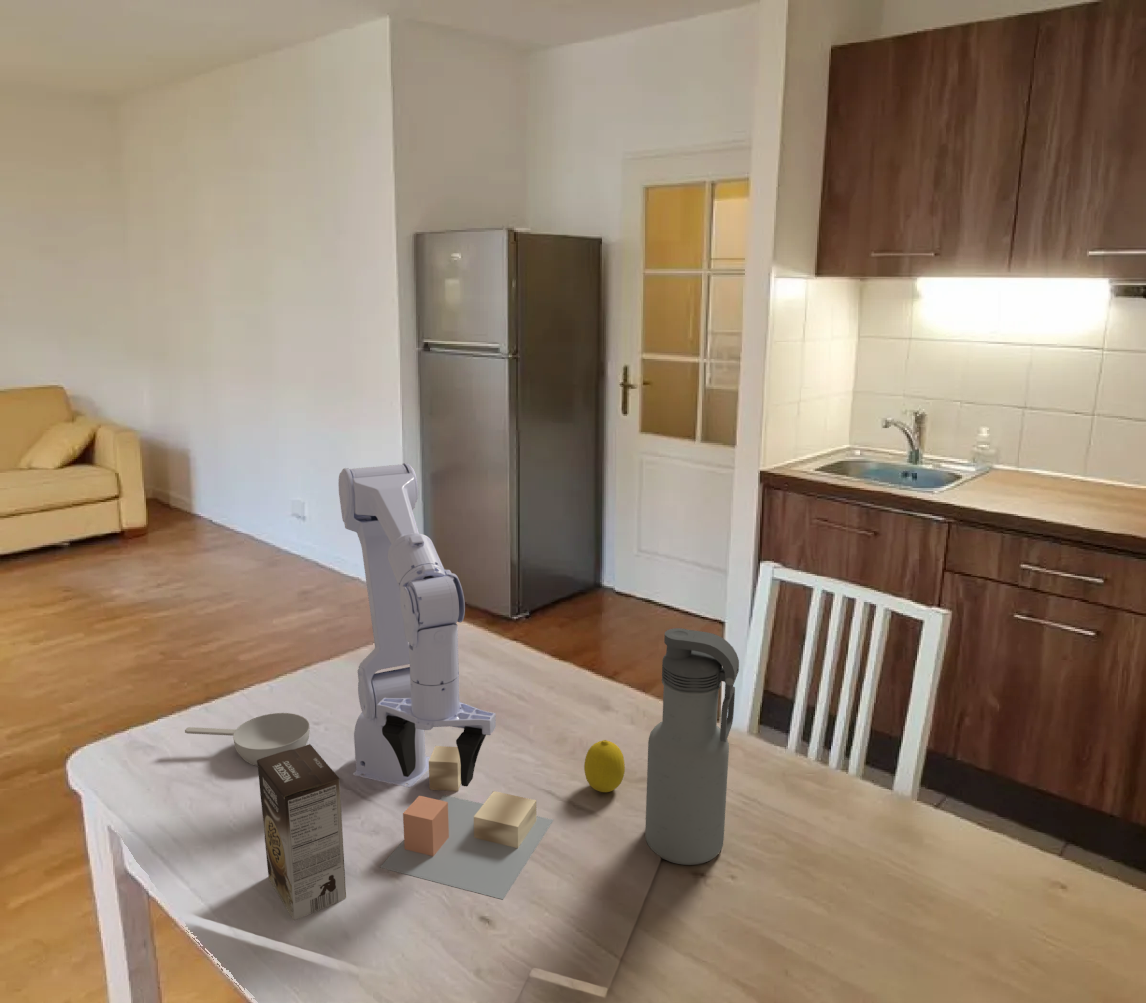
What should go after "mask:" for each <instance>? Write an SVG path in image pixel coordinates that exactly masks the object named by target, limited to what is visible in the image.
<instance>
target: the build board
mask: <svg viewBox="0 0 1146 1003" xmlns="http://www.w3.org/2000/svg"><path fill="white" fill-rule="evenodd" d="M438 800H441V801H445V802H448V823H449V838H448V839H447V840H446V842H445V843H444V844H443V845H442V847H441V848H440V849H439V850H438V851H437V853H436V854H435V855H434V856H430V855H426V854H422V853H418V852H414V851H410V850H406V849H405V847H404V839H403V840H402V841H401V843H400V844H399V845H398V846H397V847H396V848H395V849H394V851H393V852H392V853H391V854H390V855H389V856H388V857H387V859H386V860H385V861H384V862H383V863H382V865H381V866H380V867H379V868H381V869H384V870H388V871H392V872H396V873H399V874H403V875H407V876H410V877H414V878H419V879H422V880H426V881H430V882H434V883H437V884H441V885H445V886H450V887H451V888H457V889H460V890H464V891H468V892H472V893H475V894H480V895H484V896H486V897H491V898H495V899H499V900H504V899H505V897H506V895H507V894H508V893H509V891H510V890H511V888H512V886H513V885H514V884H515V881H516V880H517V878H518V877H519V875H520V874H521V872H522V870H524V867H525V866H526V865H527V862H528V861H529V860H530V858H531V856H532V855H533V854H534V852H535V850H536V848H537V847H538V846H539V844H540V842H541V841H542V839H543V838H544V836H545V834H546V833H547V831H548V829H549V828H550V826H551V825H552V824H553V822H554V819H553V818H548V817H543V816H539V815H536V822H535V824H534V825H533V827H532V828H531V830H530V831H529V833H528V834H527V836H526V837H525V839H524V840H523V842H522V843H521V845H520V846H519V848H515V847H511V846H507V845H502V844H498V843H494V842H490V841H486V840H481V839H477V838H474V816H475V814H476V813H477V812H478V811H479V809H480V808H481V807H482V805H483V804H484V803H483V802H482V803H481V802H477V801H472V800H468V799H463V798H459V797H456V796H450V795H446V794H445V795H444V794H443V795H441V797H440V798H439V799H438Z"/></svg>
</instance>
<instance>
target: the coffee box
mask: <svg viewBox="0 0 1146 1003" xmlns="http://www.w3.org/2000/svg"><path fill="white" fill-rule="evenodd" d="M257 764H258V766H257V773H258V774H257V775H258V782H259V783H258V784H259V792H260V793H259V794H260V803H261V813H262V824H263V833H264V844H265V852H266V853H265V855H266V866H267V875H268V880H269V881H270V883H271V885H272V887H273V889H274V890H275V892H276V894H277V895H278V897H279V899H280V901H281V902H282V904H283V905H284V907H285V909H286V910H287V913H289V915H290V917H291V919H292V920H293V921H296V920H300V919H301V918H303V917H307V916H309V915H311V914H313V913H314V914H315V913H316V912H318V911H321V910H323V909H325V908H327V907H330V906H332V905H335V904H337V903H340V902H341V901H344V900H345V899H347V890H346V887H347V886H346V873H345V856H344V855H345V853H344V837H343V833H344V832H343V817H342V815H343V814H342V804H341V803H342V799H341V784H340V783H341V782H340V777H339V776H338V775H337V773H335V771H334V770H333V769H332V768H331V767H330V765H329V764H328V763H327V762H326V761H325V759H324V758H323V757H321V755H320V754H319V752H318V751H316V749H315V748H314V746H312V745H311V744H310V743H309V744H306V745H305V746H303V747H300V748H297V749H291V750H287V751H283V752H279V753H276V754H273V755H270V756H267V757H264V758H261V759H258V760H257Z"/></svg>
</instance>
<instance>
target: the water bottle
mask: <svg viewBox="0 0 1146 1003" xmlns="http://www.w3.org/2000/svg"><path fill="white" fill-rule="evenodd" d="M663 640H664V642H663V643H664V645H666V652H665V655H663V657H662V661H661V662H662V663H661V664H662V666H661V667H662V668H661V670H662V671H661V683H662V686H663V691H662V692H663V694H662V696H663V698H662V720H661V721H660V722H659V723H657V724H656V725H655V726H654V727H653V729H652V730H651V732H650V734H649V735H648V740H647V741H648V742H647V768H646V769H647V770H646V771H647V772H646V798H645V827H644V829H645V831H644V832H645V833H644V834H645V841H646V843H647V845H648V847H649V848H650V849H651V850H652V851H653V853H655V854H656V855H657V856H659V857H661V859H663V860H665V861H667V862H670V863H673V864H677V865H684V866H692V865H701V864H705V863H706V862H710V861H712V860H713V859H714V858H716V857H717V856H718V855H719V854H720V852H722V849H723V846H724V840H725V825H726V824H725V823H726V806H727V788H728V787H727V786H728V771H729V756H730V754H729V753H730V746H729V740H728V738H729V734H730V731H731V729H732V726H733V721H734V713H735V712H734V711H735V696H736V687H735V686H734V685H735V682H736V679H737V677H738V674H739V672H740V659H739V657H738V654H737V652H736V650H735V649H734V646H732V645H731V644H730V643H729V642H728V640H726V639H725V638H723V637H722V636H719V635H717V634H715V633H711V632H707V631H700V630H694V629H693V630H692V629H687V628H682V627H681V628H680V627H679V628H677V627H676V628H670V629H667V630H665V632H664V639H663ZM722 682H724V698H723V701H722V703H721V704H722V706H721V712H720V727H719V726H718V725H717V723H718V707H719V706H718V705H719V690H720V689H721V686H722Z"/></svg>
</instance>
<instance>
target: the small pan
mask: <svg viewBox="0 0 1146 1003" xmlns="http://www.w3.org/2000/svg"><path fill="white" fill-rule="evenodd" d="M184 733H185V734H189V735H190V734H193V735H209V736H211V735H213V736H232V738H233V744H234V748H235V751H236V752H237V753H238V754H239V756H240V758H242V759H243V760H245V762H246V763H248V764H250V765H252V766H256V767H258V764H257V760H258V759H261V758H264V757H267V756H270V755H273V754H276V753H279V752H283V751H287V750H291V749H297V748H300V747H303V746H306V745H308V744H307V743H308V741H309V738H310V722H309V720H308V719H307V718H305V717H304V716H303V715H299V714H296V713H290V712H275V713H268V714H263V715H260V716H259V715H258V716H257V717H254V718H250V719H248V720H246V721H245V722H243V723H242V724H240V725H239V726H238V727H237V728H236V729H235V728H233V729H232V728H216V727H215V728H212V727H211V728H210V727H193V726H192V727H191V726H190V727H186V728H185V729H184Z"/></svg>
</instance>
